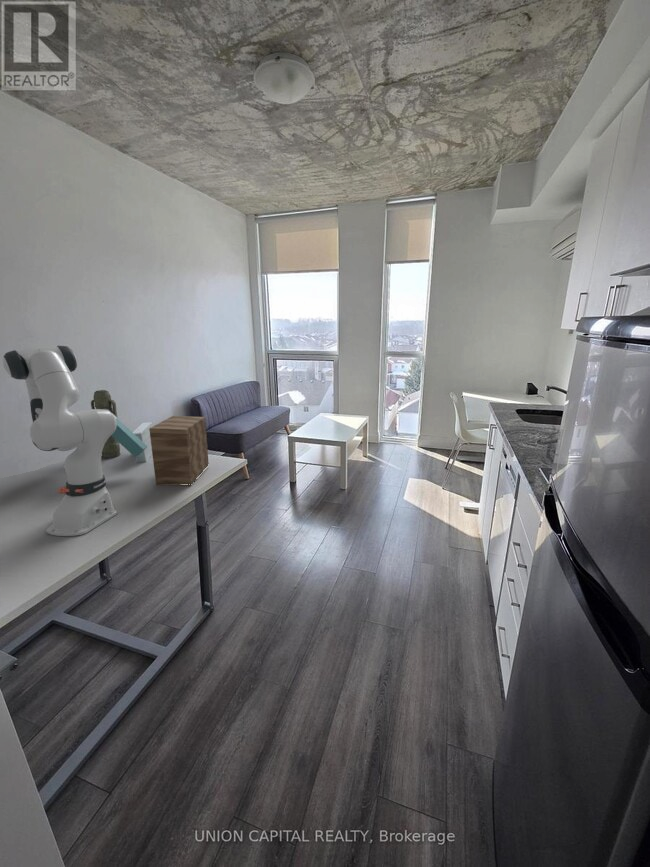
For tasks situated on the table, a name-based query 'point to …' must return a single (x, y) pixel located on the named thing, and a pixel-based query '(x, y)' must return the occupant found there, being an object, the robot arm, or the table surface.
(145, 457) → the skincare box
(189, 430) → the brown wooden box
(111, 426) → the robot arm
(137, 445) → the teal rectangular bar
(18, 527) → the table surface
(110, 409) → the thermos
